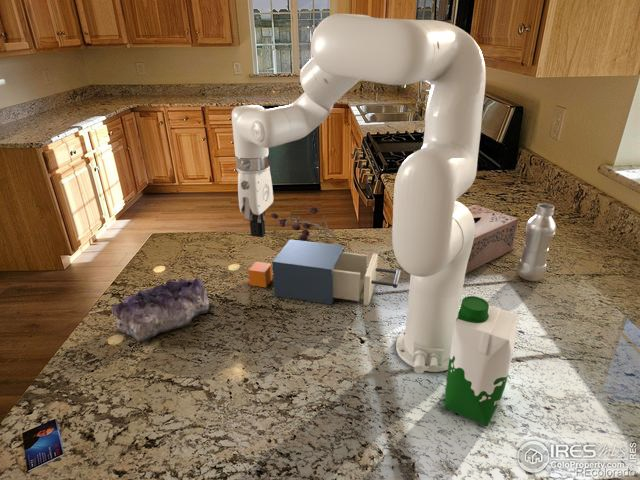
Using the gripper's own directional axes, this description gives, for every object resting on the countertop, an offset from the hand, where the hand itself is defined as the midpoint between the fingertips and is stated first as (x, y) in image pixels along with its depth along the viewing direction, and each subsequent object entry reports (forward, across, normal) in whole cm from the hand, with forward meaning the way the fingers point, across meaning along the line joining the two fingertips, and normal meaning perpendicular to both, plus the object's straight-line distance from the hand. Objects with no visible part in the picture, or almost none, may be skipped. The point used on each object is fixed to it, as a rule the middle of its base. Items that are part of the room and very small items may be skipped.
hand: (258, 235), depth 105 cm
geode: (+14, -21, +14) cm, 29 cm away
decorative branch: (+14, +32, -1) cm, 35 cm away
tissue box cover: (+13, +30, -51) cm, 61 cm away
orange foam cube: (+13, 0, 0) cm, 13 cm away
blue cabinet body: (+13, +1, -13) cm, 19 cm away
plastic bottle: (+13, +20, -67) cm, 71 cm away
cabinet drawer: (+12, +1, -25) cm, 28 cm away
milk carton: (+13, -28, -51) cm, 60 cm away
